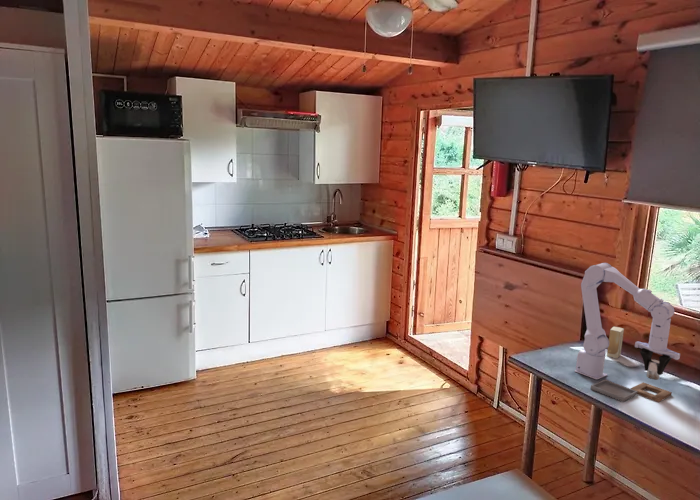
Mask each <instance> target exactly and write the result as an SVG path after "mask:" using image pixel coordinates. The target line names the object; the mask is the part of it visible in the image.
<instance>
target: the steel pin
mask: <svg viewBox="0 0 700 500" xmlns="http://www.w3.org/2000/svg"><path fill="white" fill-rule="evenodd" d="M658 370H659V360H656V359H651V360H649V362H648V369H647V371H646V378H647V379H650V380H654V381H656V380H660V376H661V375H658Z"/></svg>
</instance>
